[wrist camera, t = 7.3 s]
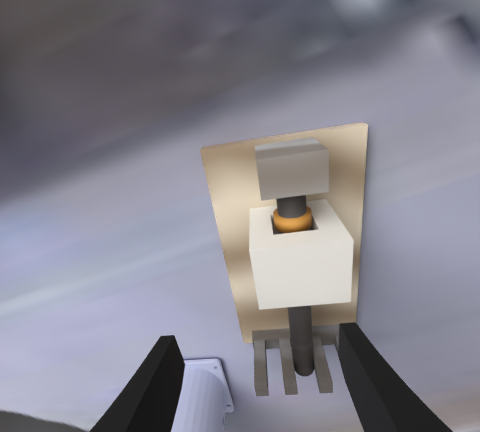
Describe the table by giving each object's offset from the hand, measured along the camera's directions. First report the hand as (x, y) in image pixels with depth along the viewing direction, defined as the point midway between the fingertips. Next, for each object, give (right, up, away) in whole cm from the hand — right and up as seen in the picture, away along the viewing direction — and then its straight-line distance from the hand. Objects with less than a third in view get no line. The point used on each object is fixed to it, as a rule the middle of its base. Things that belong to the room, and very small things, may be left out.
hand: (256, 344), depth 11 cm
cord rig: (+3, +3, +9) cm, 10 cm away
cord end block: (+3, +5, +7) cm, 8 cm away
